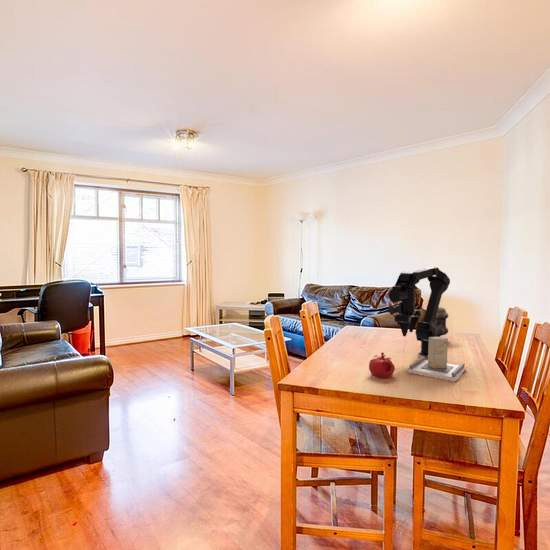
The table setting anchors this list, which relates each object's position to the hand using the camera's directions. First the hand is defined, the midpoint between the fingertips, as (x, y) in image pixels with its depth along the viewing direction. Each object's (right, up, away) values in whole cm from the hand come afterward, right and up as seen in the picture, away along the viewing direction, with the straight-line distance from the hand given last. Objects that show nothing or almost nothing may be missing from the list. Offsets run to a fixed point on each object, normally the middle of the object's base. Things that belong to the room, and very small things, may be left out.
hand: (407, 334), depth 177 cm
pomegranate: (-17, -14, -21) cm, 30 cm away
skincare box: (+7, -11, -16) cm, 20 cm away
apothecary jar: (+29, -9, +39) cm, 50 cm away
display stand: (+7, -13, -16) cm, 21 cm away
